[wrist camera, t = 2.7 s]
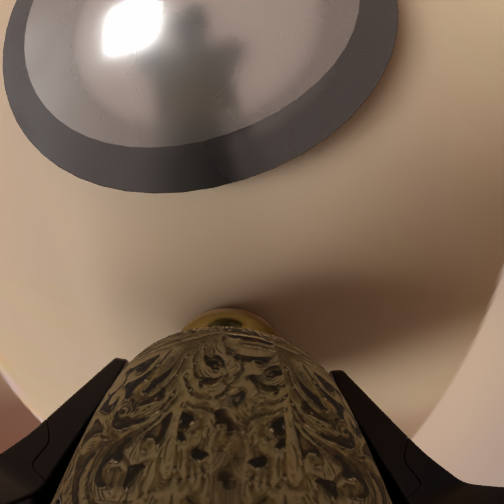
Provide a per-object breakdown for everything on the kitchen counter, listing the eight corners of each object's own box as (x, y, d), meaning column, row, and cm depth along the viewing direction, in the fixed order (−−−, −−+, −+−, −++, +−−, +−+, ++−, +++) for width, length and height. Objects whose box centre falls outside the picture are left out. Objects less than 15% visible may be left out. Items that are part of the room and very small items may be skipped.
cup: (361, 263, 9) (491, 503, 2) (301, 400, 12) (325, 558, 5) (123, 230, 8) (-39, 481, 1) (139, 382, 11) (102, 543, 4)
